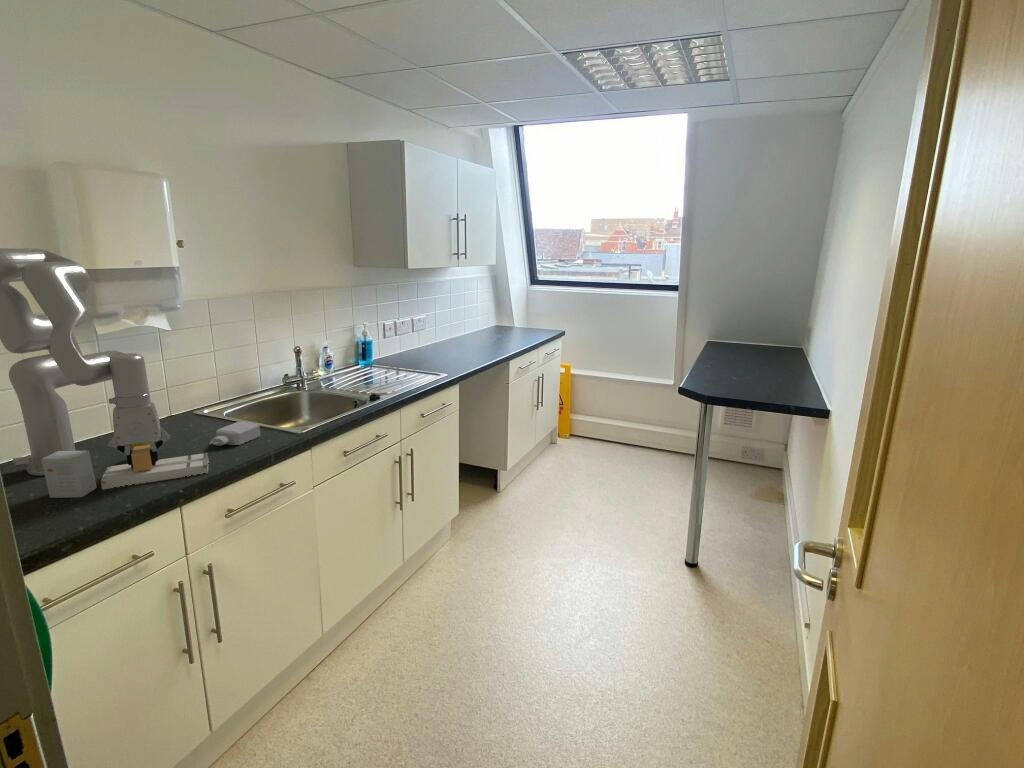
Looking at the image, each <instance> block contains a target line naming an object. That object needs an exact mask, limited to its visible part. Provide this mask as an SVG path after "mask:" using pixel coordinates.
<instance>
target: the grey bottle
mask: <svg viewBox="0 0 1024 768" xmlns="http://www.w3.org/2000/svg"><path fill="white" fill-rule="evenodd" d="M260 427H261V426H260V425H259V424H258V423H255V422H254V423H253V422H247V421H240V420H239V421H236V422H234V423H231V424H228V425H226V426H223V427H221V428H218V429H216V430H215V437H213V438H211V439H210V442H208V444H209V445H210V444H213V445H214V446H220V447H221V446H223V445H230V446H234V445H239V446H241V445H244V444H245V442H246V443H247V442H250V440H251V441H253V440H255V439H257V437H258V438H260V437H261V428H260Z"/></svg>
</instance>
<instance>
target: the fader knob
mask: <svg viewBox="0 0 1024 768" xmlns="http://www.w3.org/2000/svg"><path fill="white" fill-rule="evenodd" d="M150 452H151V447H150V445H145V446H137V447H134V448H133V451H132V453H131V457H132V463H133V469H134V472H137V471H144V470H151V469H152V467H153V466H152V462H151V455H150Z"/></svg>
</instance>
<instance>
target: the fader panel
mask: <svg viewBox="0 0 1024 768" xmlns="http://www.w3.org/2000/svg"><path fill="white" fill-rule="evenodd" d="M209 462H210V460H209V454H208V452H205V453H204V452H203V453H198V454H188V455H183V456H175V457H169V458H162V459H158V461H156V465H155V466H153V467H152V469H151V470H144V471H137V472H134V469H131V465H128V463H126V464H125V463H123V464H119V465H118V464H117V465H111V466H107V467H106V469H105V471H104V473H103V475H102V477H101V479H100V483H101V484H100V485H101V490H108V489H115V488H114V487H116V488H121V487H120V486H122V487H126V486H125V485H128V486H133V485H132V484H135V485H141V484H146V483H147V482H148V483H155V482H160V481H165V480H173V479H179V478H185V476H187V477H192V476H191V475H193V476H198V475H197V474H200V475H204V474H203V473H206V474H209V464H210V463H209ZM208 463H209V464H208ZM140 483H141V484H140ZM148 483H147V484H148Z"/></svg>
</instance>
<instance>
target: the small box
mask: <svg viewBox="0 0 1024 768" xmlns="http://www.w3.org/2000/svg"><path fill="white" fill-rule="evenodd" d="M41 461H42V465H43V470H44V474H45V475H44V477H45V482H46V486H47V491H48V494H49V498H51V499H54V498H57V499H58V498H61V499H62V498H83V497H84V496H86V495H88V494H89V493H91V492H93V491H94V490H95V489H97V488H98V487H97V481H96V477H95V473H94V467H93V464H92V459H91V454H90V450H76V451H57V452H55V453H53V454H51V455H49V456H47V457H44V458H42V459H41Z"/></svg>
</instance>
